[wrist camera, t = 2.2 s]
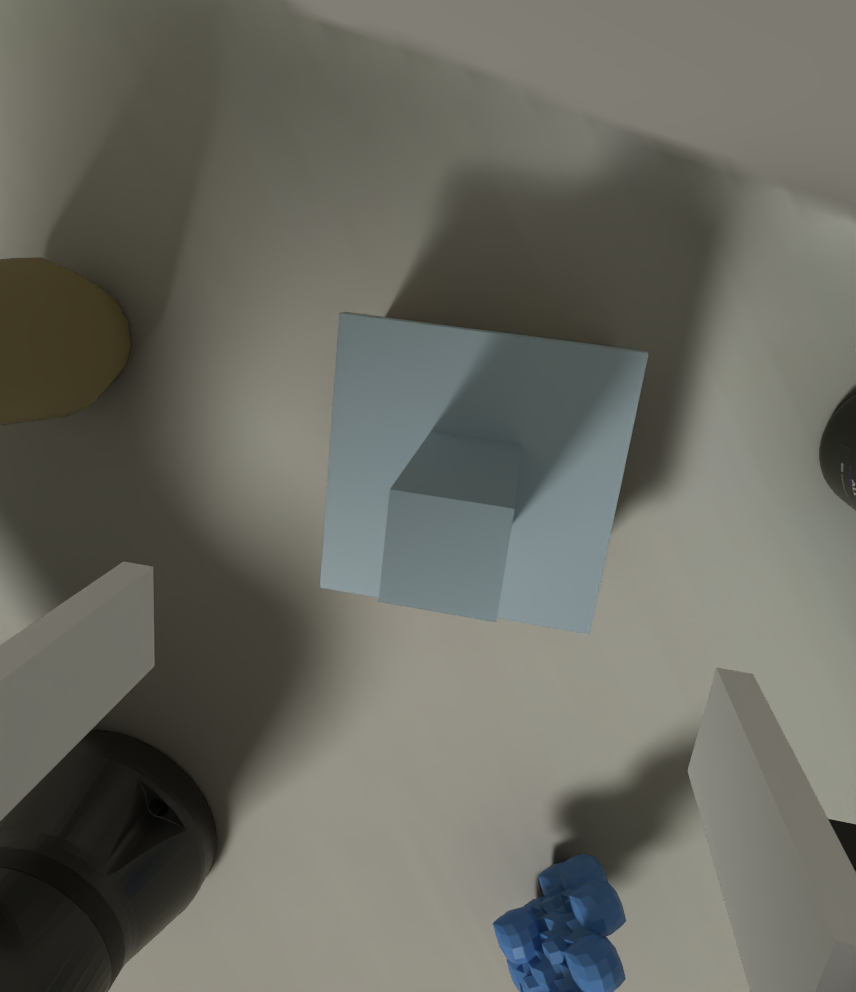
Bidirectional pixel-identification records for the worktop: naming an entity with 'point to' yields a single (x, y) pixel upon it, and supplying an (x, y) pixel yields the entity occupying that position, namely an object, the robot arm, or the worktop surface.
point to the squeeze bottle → (55, 340)
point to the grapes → (565, 932)
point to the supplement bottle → (841, 452)
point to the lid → (475, 469)
